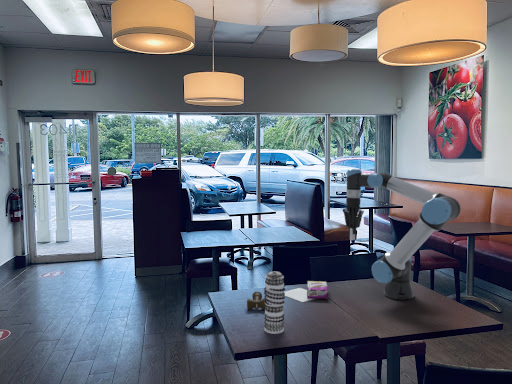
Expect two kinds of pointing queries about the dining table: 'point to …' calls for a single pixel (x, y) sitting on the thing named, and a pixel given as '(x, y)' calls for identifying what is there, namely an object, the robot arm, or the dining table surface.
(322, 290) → the candy bar box
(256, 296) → the kendama
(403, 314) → the dining table surface
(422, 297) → the dining table surface
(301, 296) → the mat
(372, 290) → the dining table surface
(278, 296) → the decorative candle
